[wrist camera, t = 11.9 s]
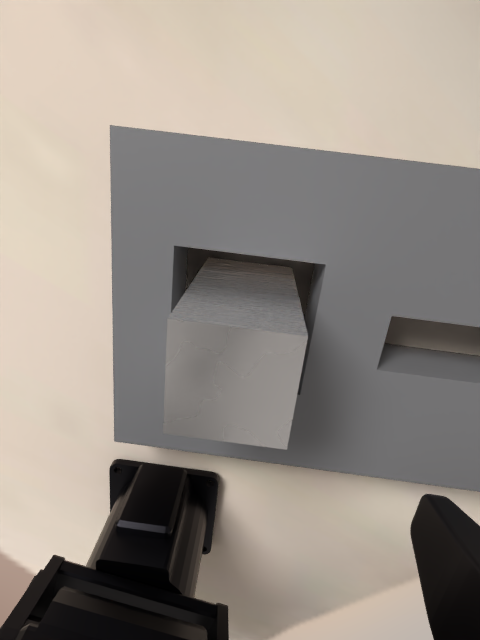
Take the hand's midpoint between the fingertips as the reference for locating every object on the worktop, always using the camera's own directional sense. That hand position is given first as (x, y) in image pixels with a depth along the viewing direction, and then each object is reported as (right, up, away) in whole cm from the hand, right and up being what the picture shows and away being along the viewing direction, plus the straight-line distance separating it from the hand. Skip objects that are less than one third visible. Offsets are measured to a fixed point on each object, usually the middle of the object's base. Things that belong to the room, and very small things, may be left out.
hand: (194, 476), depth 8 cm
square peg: (+1, +4, +11) cm, 12 cm away
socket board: (+6, +3, +11) cm, 13 cm away
